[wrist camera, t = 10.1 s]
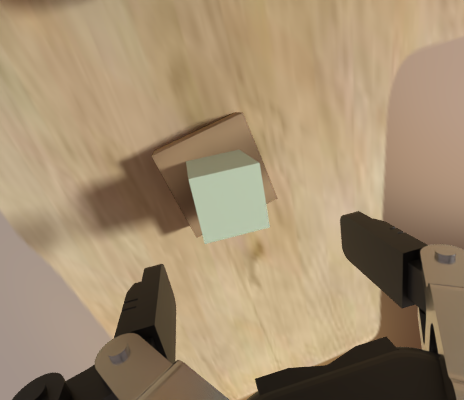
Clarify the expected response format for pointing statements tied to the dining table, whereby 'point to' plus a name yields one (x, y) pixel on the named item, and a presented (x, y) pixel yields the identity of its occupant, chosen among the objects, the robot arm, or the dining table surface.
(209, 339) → the dining table surface
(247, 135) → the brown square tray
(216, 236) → the green block
